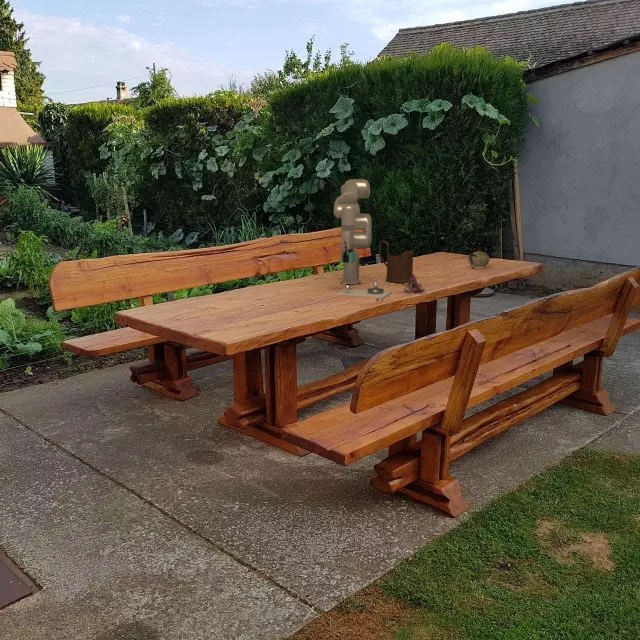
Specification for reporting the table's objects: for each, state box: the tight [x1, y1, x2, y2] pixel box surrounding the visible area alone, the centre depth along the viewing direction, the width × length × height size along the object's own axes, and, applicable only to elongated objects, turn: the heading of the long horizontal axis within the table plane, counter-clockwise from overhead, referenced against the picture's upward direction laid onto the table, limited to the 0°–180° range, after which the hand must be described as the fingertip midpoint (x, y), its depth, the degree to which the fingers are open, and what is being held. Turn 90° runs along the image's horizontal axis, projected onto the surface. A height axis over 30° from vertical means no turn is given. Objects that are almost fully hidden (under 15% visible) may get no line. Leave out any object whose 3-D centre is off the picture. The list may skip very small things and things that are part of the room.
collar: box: [340, 251, 356, 264], centre depth 370 cm, size 6×6×6 cm
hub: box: [366, 280, 385, 294], centre depth 375 cm, size 9×9×6 cm
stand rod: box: [345, 284, 350, 294], centre depth 374 cm, size 2×2×4 cm
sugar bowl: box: [467, 246, 491, 268], centre depth 478 cm, size 20×15×15 cm
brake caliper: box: [404, 273, 426, 294], centre depth 383 cm, size 11×11×12 cm
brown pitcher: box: [378, 240, 414, 284], centre depth 417 cm, size 18×24×25 cm
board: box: [335, 288, 393, 300], centre depth 375 cm, size 19×27×2 cm
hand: (348, 261), depth 371 cm, fingers closed on collar, 6 cm apart
